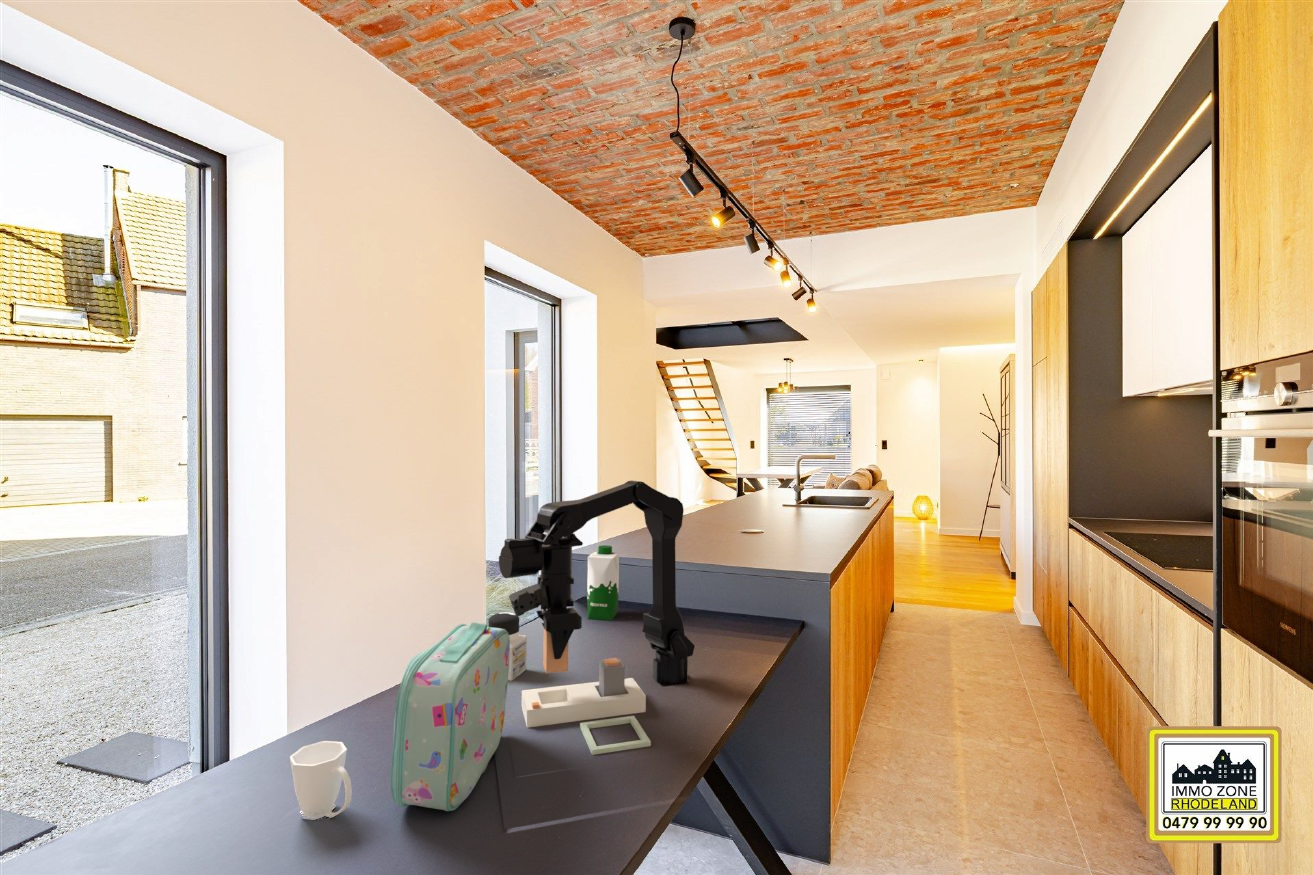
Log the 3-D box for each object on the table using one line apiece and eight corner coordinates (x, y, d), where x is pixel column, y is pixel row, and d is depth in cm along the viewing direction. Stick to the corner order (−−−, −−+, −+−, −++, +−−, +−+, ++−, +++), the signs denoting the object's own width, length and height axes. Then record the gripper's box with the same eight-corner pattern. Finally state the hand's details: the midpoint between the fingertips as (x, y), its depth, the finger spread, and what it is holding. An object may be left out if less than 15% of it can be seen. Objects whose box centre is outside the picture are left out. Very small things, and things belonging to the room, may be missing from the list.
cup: (325, 791, 89) (326, 735, 89) (372, 811, 84) (372, 752, 84) (276, 817, 83) (277, 757, 83) (324, 840, 78) (325, 777, 78)
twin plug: (618, 699, 120) (619, 655, 120) (624, 708, 117) (624, 662, 117) (598, 702, 119) (599, 657, 119) (603, 710, 115) (604, 665, 115)
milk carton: (620, 612, 182) (621, 545, 182) (613, 621, 173) (614, 551, 174) (592, 611, 184) (593, 544, 184) (583, 619, 175) (584, 549, 175)
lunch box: (454, 730, 108) (456, 608, 108) (511, 731, 108) (513, 609, 108) (381, 825, 81) (383, 663, 81) (458, 827, 81) (460, 665, 81)
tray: (633, 722, 112) (634, 715, 112) (650, 748, 102) (650, 741, 102) (579, 729, 109) (580, 722, 109) (592, 757, 99) (592, 750, 99)
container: (512, 682, 129) (512, 621, 129) (478, 679, 131) (479, 618, 131) (526, 669, 137) (527, 611, 137) (494, 666, 138) (495, 608, 138)
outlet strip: (632, 695, 124) (632, 674, 124) (645, 714, 115) (645, 692, 115) (521, 708, 117) (521, 687, 117) (526, 730, 108) (527, 706, 108)
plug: (543, 665, 116) (543, 619, 116) (564, 663, 117) (564, 618, 117) (546, 673, 112) (546, 626, 112) (568, 670, 113) (568, 624, 113)
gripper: (507, 563, 121) (507, 642, 121) (517, 585, 103) (516, 678, 103) (564, 560, 124) (563, 637, 124) (582, 581, 107) (581, 671, 107)
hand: (555, 654), depth 114 cm, fingers closed on plug, 4 cm apart
